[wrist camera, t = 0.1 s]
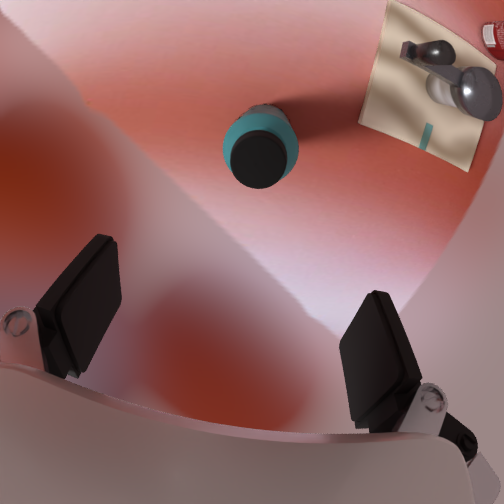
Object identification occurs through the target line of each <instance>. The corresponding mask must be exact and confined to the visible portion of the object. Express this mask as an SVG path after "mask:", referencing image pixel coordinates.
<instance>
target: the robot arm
mask: <svg viewBox="0 0 504 504" xmlns="http://www.w3.org/2000/svg"><path fill="white" fill-rule="evenodd" d="M121 300H122V295H121V286H120V275H119V264H118V249H117V243H116V242H115V241H114V240H113V238H112V237H111V236H107V235H102V234H97V235H96V236H95V237H94V238H93V239H92V240H91V241H90V242H89V243H88V244H87V245H86V247H84V249H83V250H82V251H81V252H80V253H79V254H78V255H77V257H75V259H74V260H73V261H72V262H71V263H70V264H69V266H68V267H67V268H66V269H65V270H64V271H63V272H62V274H61V275H60V276H59V277H58V278H57V280H56V281H55V282H54V283H53V284H52V286H51V287H50V288H49V289H48V291H47V292H46V293H45V294H44V296H43V297H42V298H41V299H40V301H39V302H38V303H37V305H36V307H35V308H34V310H33V311H32V310H31V309H29V308H27V307H15V308H13V309H10V310H9V311H8V312H6V313H5V314H4V316H3V317H2V319H1V321H0V504H493V503H494V501H495V500H496V498H497V496H498V494H499V492H500V487H501V486H500V481H499V478H498V477H497V475H496V474H495V472H494V471H493V469H492V468H491V467H490V465H489V463H488V462H487V461H486V459H485V458H484V457H483V455H482V454H481V452H478V453H477V449H478V443H477V439H476V437H475V435H474V434H473V433H472V432H471V431H470V430H469V429H468V428H467V427H465V426H464V425H463V424H462V423H460V422H459V421H458V420H456V419H455V418H454V417H453V416H451V415H450V414H449V413H447V412H446V411H447V407H448V402H447V398H446V395H445V393H444V392H443V391H442V389H440V388H439V387H438V386H437V385H434V384H432V383H424V384H422V385H421V382H420V380H421V379H422V375H421V372H420V369H419V366H418V364H417V361H416V358H415V356H414V353H413V350H412V348H411V345H410V342H409V340H408V337H407V335H406V332H405V330H404V328H403V325H402V323H401V320H400V318H399V316H398V313H397V311H396V309H395V306H394V304H393V302H392V300H391V297H390V295H389V294H388V293H387V292H382V291H377V290H374V291H372V292H371V293H368V294H367V296H366V297H365V299H364V301H363V303H362V305H361V306H360V308H359V310H358V312H357V313H356V315H355V317H354V319H353V320H352V322H351V324H350V325H349V327H348V329H347V330H346V332H345V334H344V335H343V337H342V339H341V341H340V344H339V349H340V355H341V360H342V365H343V371H344V377H345V383H346V389H347V395H348V402H349V408H350V414H351V419H352V421H355V428H356V429H361V428H369V433H366V434H311V433H291V432H278V431H267V430H257V429H249V428H242V427H235V426H228V425H222V424H216V423H210V422H205V421H200V420H195V419H190V418H186V417H181V416H177V415H173V414H168V413H164V412H160V411H157V410H153V409H149V408H145V407H142V406H139V405H135V404H132V403H128V402H125V401H122V400H119V399H116V398H113V397H110V396H107V395H104V394H102V393H99V392H96V391H93V390H90V389H88V388H85V387H82V386H80V385H77V384H74V383H72V382H70V381H67V380H65V378H66V376H67V374H68V375H71V376H73V377H75V378H79V376H80V374H81V372H85V371H86V370H87V368H88V365H89V364H90V362H91V360H92V358H93V356H94V354H95V352H96V350H97V348H98V345H99V344H100V342H101V340H102V338H103V336H104V334H105V332H106V330H107V328H108V327H109V325H110V323H111V321H112V319H113V317H114V315H115V314H116V312H117V310H118V308H119V306H120V304H121Z"/></svg>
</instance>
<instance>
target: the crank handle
mask: <svg viewBox="0 0 504 504" xmlns="http://www.w3.org/2000/svg"><path fill="white" fill-rule="evenodd" d="M399 58H401V59H403V60H405V61H407V62H409V63H411V64H413V65H415V66H417V67H419V68H421V69H423V70H425V71H426V72H428V73H430V74H432V75H434V76H435V77H437V78H439V79H441V80H442V81H444V82H446V83H447V84H449V85H450V93H451V97H452V99H453V102H454V104H455V105H456V107H457V108H458V109H459V110H460V111H461V112H462V113H463V114H465V115H467V116H470V117H473V118H477V119H480V120H483V121H492V120H494V119H495V118H496V117H497V116H498V115H499V113H500V111H501V108H502V91H501V87H500V85H499V82H498V80H497V79H496V77H495V76H494V75H493V73H492V72H490V71H489V70H488V69H486V68H484V67H476V66H461V67H458V68H456V67H454V66H453V65H452V64H453V63H454V62H455V60H456V53H455V50H454V48H453V46H452V45H451V44H450V43H449V42H447V41H445V40H437V41H431V42H425V43H420V44H415V43H413V42H411V41H406V42H403V44H402V48H401V53H400V57H399Z"/></svg>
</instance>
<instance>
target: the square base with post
mask: <svg viewBox="0 0 504 504" xmlns="http://www.w3.org/2000/svg"><path fill="white" fill-rule="evenodd" d="M437 40H445V41H447V42H449V43H450V44H451V45H452V46H453V48H454V50H455V53H456V60H455V62H454V63H453V64H452V65H453V66H454V67H456V68H458V67H461V66H476V67H484V68H486V69H488V70H489V71H490V72H492V73H493V75H494V76H495V70H496V64H495V63H493V62H492V61H491V60H490V59H489V58H487V57H486V56H485V55H483V54H482V53H481V52H480V51H478V50H477V49H476V48H474V47H473V46H472V45H470V44H469V43H467V42H466V41H464V40H463V39H462V38H460V37H459V36H457V35H456V34H454V33H453V32H451V31H450V30H448V29H446V28H445V27H443V26H442V25H440V24H438V23H437V22H435V21H433V20H431V19H430V18H428V17H426V16H424V15H423V14H421V13H419V12H417V11H415V10H413V9H411V8H409V7H407V6H405V5H403V4H401V3H399V2H397V1H395V0H389V1H388V2H387V7H386V12H385V17H384V22H383V26H382V31H381V35H380V40H379V44H378V48H377V52H376V56H375V61H374V65H373V69H372V72H371V76H370V80H369V84H368V88H367V91H366V95H365V99H364V102H363V106H362V109H361V113H360V116H359V120H358V123H359V124H361V125H364V126H367V127H370V128H372V129H375V130H378V131H380V132H383V133H385V134H388V135H390V136H393V137H395V138H398V139H400V140H402V141H405V142H407V143H409V144H412V145H414V146H416V147H418V148H420V149H423V150H425V151H427V152H429V153H431V154H433V155H435V156H437V157H439V158H441V159H443V160H445V161H447V162H449V163H451V164H453V165H455V166H457V167H459V168H461V169H462V170H464V171H466V172H468V170H469V167H470V165H471V162H472V159H473V156H474V153H475V150H476V147H477V144H478V141H479V138H480V134H481V131H482V127H483V124H484V121H483V120H480V119H477V118H473V117H470V116H467V115H465V114H463V113H462V112H461V111H460V110H459V109H458V108H457V107H456V105H455V104H454V102H453V99H452V97H451V93H450V85H449V84H447V83H446V82H444V81H442V80H441V79H439V78H437V77H435V76H434V75H432V74H430V73H428V72H426V71H425V70H423V69H421V68H419V67H417V66H415V65H413V64H411V63H409V62H407V61H405V60H403V59H401V58H399V57H400V53H401V48H402V44H403V42H406V41H411V42H413V43H415V44H420V43H425V42H431V41H437Z"/></svg>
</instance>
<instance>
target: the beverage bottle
mask: <svg viewBox="0 0 504 504" xmlns="http://www.w3.org/2000/svg"><path fill="white" fill-rule="evenodd" d="M274 106H275V105H274ZM274 106H271V104H270V105H267V103H266V104H264V105H257V106H255V107H254V106H252V108H251V107H250V108H251V109H250V108H249V110H248V111H247V112H246V113H245V114H244V115H243V116H241V115H242V114H241V115H240V116H241V117H240V118H239V119H238V120H237V121H236V122H235V123H234V124H233V125H232V126H231V127H230V128H229V130H228V131H227V133H226V135H225V138H224V142H223V155H224V159H225V162H226V164H227V166H228V168H229V169H230V170H231V172H232V173H233V175H234V176H235V178H236V179H237V180H238V181H239V182H240V183H242V184H243V185H245V186H247V187H250V188H255V189H263V188H267V187H270V186H272V185H274V184H275V183H277V182H278V181H279V180H281V179H282V178H284V177H285V176H286V175H287V174H288V173H289V172H290V171H291V170H292V169H293V167H294V165H295V163H296V161H297V158H298V152H299V146H298V140H297V137H296V135H295V133H294V131H293V129H292V127H291V125H290V123H289V121H290V120H289V121H288V119H287V117H288V116H287V115H286V114H284V113H283V111H282V109H278V108H276V107H274ZM285 115H286V116H287V117H286V116H285Z"/></svg>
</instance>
